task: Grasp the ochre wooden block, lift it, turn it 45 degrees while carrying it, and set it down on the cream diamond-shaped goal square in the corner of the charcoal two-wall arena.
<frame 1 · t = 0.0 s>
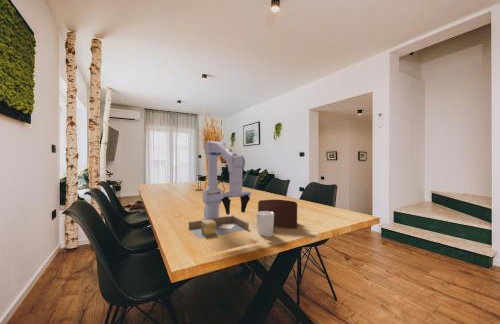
hand: (235, 213, 96), 10 cm above the table, tool pointing down, fingers open, 7 cm apart
ochre block: (208, 232, 97), point 1 cm above the table, touching arena
white cup: (265, 235, 97), on the table
letter holder: (277, 225, 114), on the table
arena: (218, 230, 103), on the table
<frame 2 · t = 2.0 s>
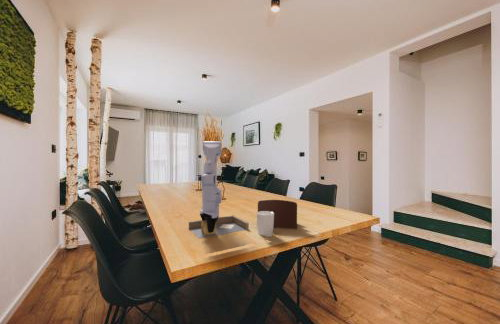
hand: (208, 230, 97), 2 cm above the table, tool pointing down, fingers closed on ochre block, 5 cm apart
ochre block: (208, 232, 97), point 1 cm above the table, touching arena, gripper
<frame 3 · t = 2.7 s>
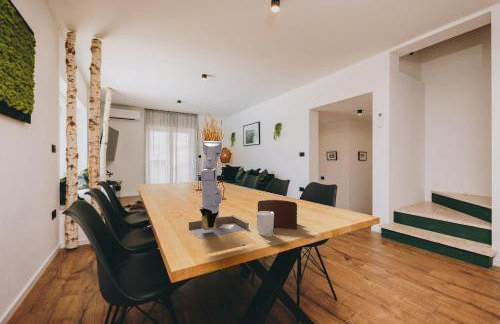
hand: (208, 225, 97), 4 cm above the table, tool pointing down, fingers closed on ochre block, 5 cm apart
ochre block: (208, 227, 97), point 3 cm above the table, touching gripper
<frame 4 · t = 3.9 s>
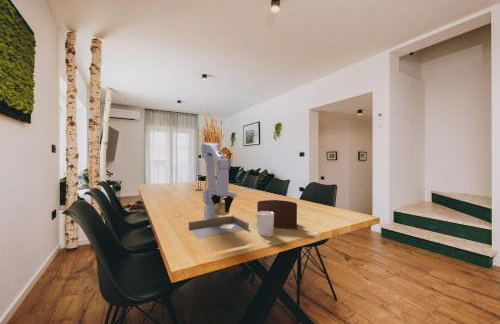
hand: (222, 211, 104), 9 cm above the table, tool pointing down, fingers closed on ochre block, 5 cm apart
ochre block: (222, 213, 103), point 8 cm above the table, touching gripper
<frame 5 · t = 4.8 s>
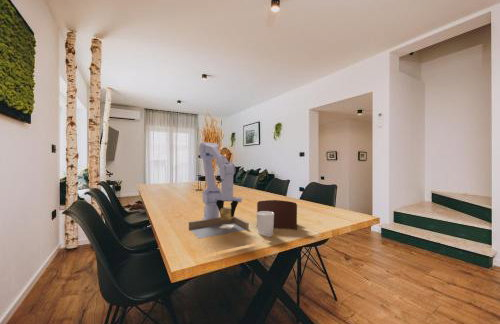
hand: (227, 216, 106), 6 cm above the table, tool pointing down, fingers closed on ochre block, 5 cm apart
ochre block: (227, 218, 106), point 5 cm above the table, touching gripper
when the fingers open (3 cm above the table, at t = 5.8 s): ochre block drops 1 cm, resting on arena.
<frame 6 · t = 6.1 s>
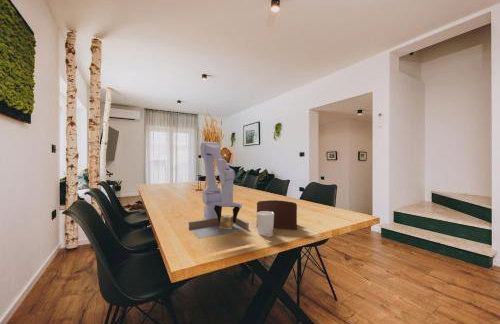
hand: (227, 221, 106), 3 cm above the table, tool pointing down, fingers open, 7 cm apart
ochre block: (226, 226, 106), point 1 cm above the table, touching arena
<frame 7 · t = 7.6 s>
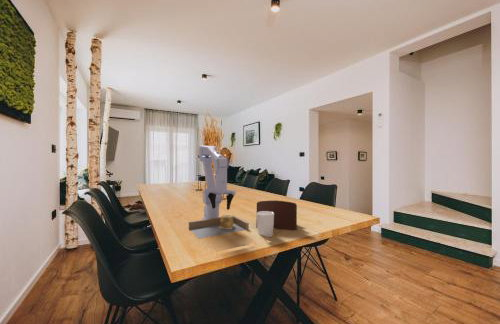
hand: (221, 208, 108), 9 cm above the table, tool pointing down, fingers open, 7 cm apart
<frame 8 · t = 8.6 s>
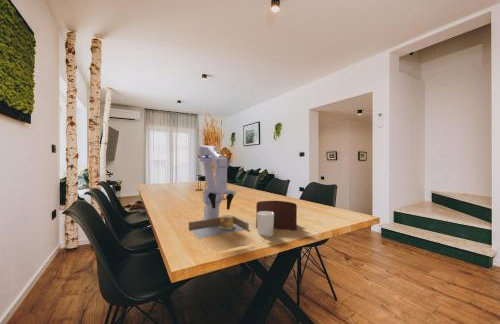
hand: (221, 208, 108), 9 cm above the table, tool pointing down, fingers open, 7 cm apart
at the end: ochre block 0.1 cm from the target spot on the arena, point 1.1 cm above the arena's base; ochre block tilted 0°; the gripper is holding nothing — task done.
